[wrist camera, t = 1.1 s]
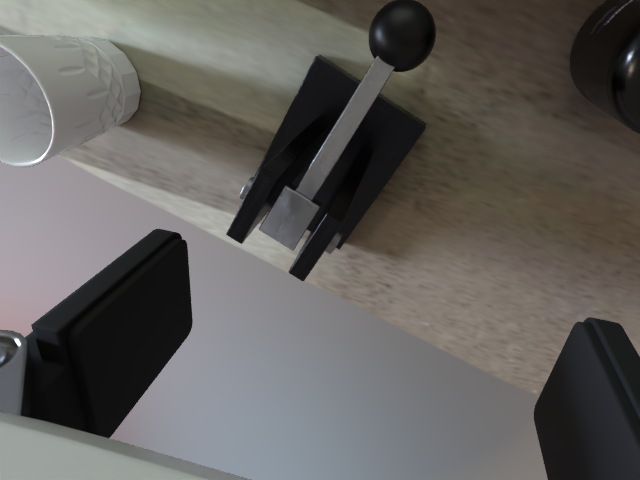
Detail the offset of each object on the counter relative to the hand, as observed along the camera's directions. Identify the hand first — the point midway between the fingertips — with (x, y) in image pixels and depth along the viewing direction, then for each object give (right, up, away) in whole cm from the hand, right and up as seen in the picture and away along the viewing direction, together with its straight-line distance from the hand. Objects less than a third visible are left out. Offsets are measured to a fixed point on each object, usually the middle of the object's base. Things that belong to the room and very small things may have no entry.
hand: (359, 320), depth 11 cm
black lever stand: (0, +8, +23) cm, 25 cm away
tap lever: (0, +8, +14) cm, 17 cm away
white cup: (-18, +15, +25) cm, 34 cm away
